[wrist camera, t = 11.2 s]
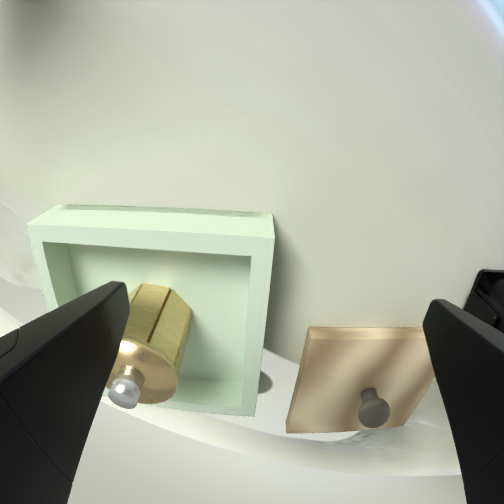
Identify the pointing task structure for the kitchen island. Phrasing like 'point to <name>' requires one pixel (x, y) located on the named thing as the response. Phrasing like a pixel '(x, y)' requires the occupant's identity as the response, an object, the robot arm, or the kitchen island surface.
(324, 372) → the stud plate
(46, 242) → the bin
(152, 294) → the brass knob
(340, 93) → the kitchen island surface
